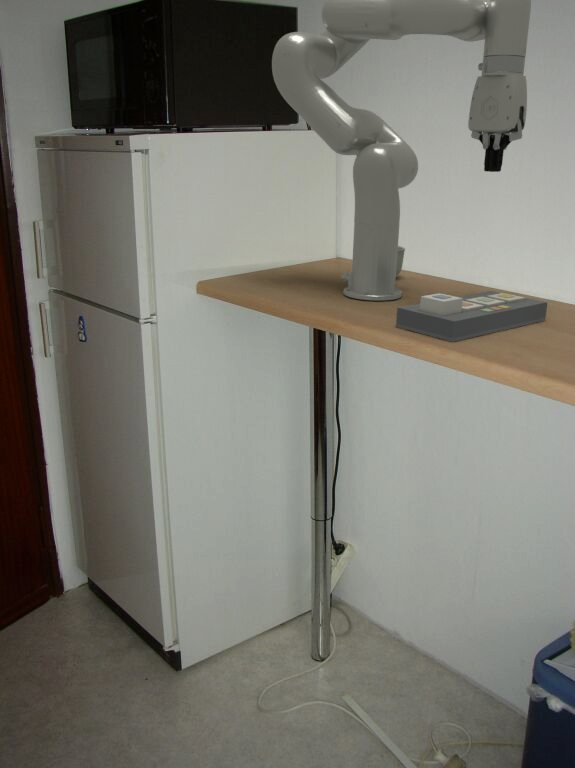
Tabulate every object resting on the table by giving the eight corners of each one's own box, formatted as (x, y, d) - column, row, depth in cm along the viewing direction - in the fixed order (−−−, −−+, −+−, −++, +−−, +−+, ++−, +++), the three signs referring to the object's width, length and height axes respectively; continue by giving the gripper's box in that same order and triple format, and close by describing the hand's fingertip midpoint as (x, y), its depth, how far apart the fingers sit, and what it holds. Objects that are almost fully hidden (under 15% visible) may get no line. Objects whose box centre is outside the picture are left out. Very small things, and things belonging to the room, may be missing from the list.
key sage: (464, 315, 145) (465, 298, 144) (480, 311, 148) (482, 295, 147) (486, 320, 141) (488, 303, 140) (503, 316, 144) (505, 300, 143)
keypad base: (395, 326, 139) (397, 306, 138) (489, 308, 156) (491, 289, 155) (452, 342, 130) (454, 320, 129) (545, 320, 147) (547, 301, 146)
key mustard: (484, 311, 149) (486, 295, 148) (500, 307, 152) (502, 292, 151) (507, 316, 145) (509, 299, 144) (523, 312, 148) (525, 296, 147)
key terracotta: (441, 319, 141) (443, 302, 140) (459, 316, 144) (461, 299, 143) (464, 325, 137) (466, 308, 136) (482, 321, 140) (484, 304, 139)
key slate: (419, 312, 136) (420, 295, 135) (438, 309, 140) (439, 292, 139) (442, 318, 133) (444, 300, 132) (461, 314, 136) (462, 297, 135)
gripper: (457, 68, 144) (449, 169, 150) (526, 64, 133) (514, 173, 139) (482, 71, 148) (472, 169, 154) (550, 68, 138) (537, 173, 143)
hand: (492, 171), depth 146 cm, fingers closed
